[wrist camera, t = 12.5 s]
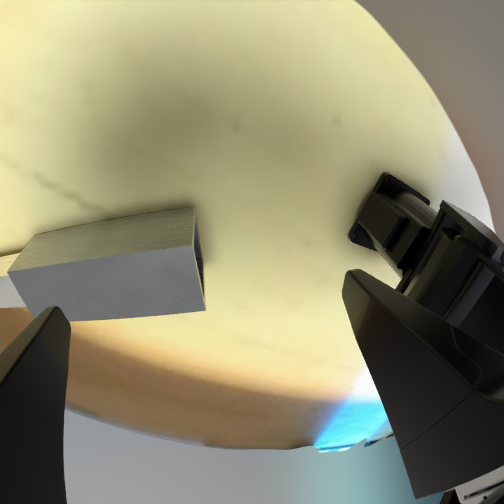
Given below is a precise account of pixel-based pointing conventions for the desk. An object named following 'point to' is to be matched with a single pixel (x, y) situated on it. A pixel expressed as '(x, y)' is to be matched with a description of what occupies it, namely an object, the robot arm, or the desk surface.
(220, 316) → the desk surface
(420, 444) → the robot arm
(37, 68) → the desk surface
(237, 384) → the desk surface
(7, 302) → the grey piece
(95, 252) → the grey long rectangular block
